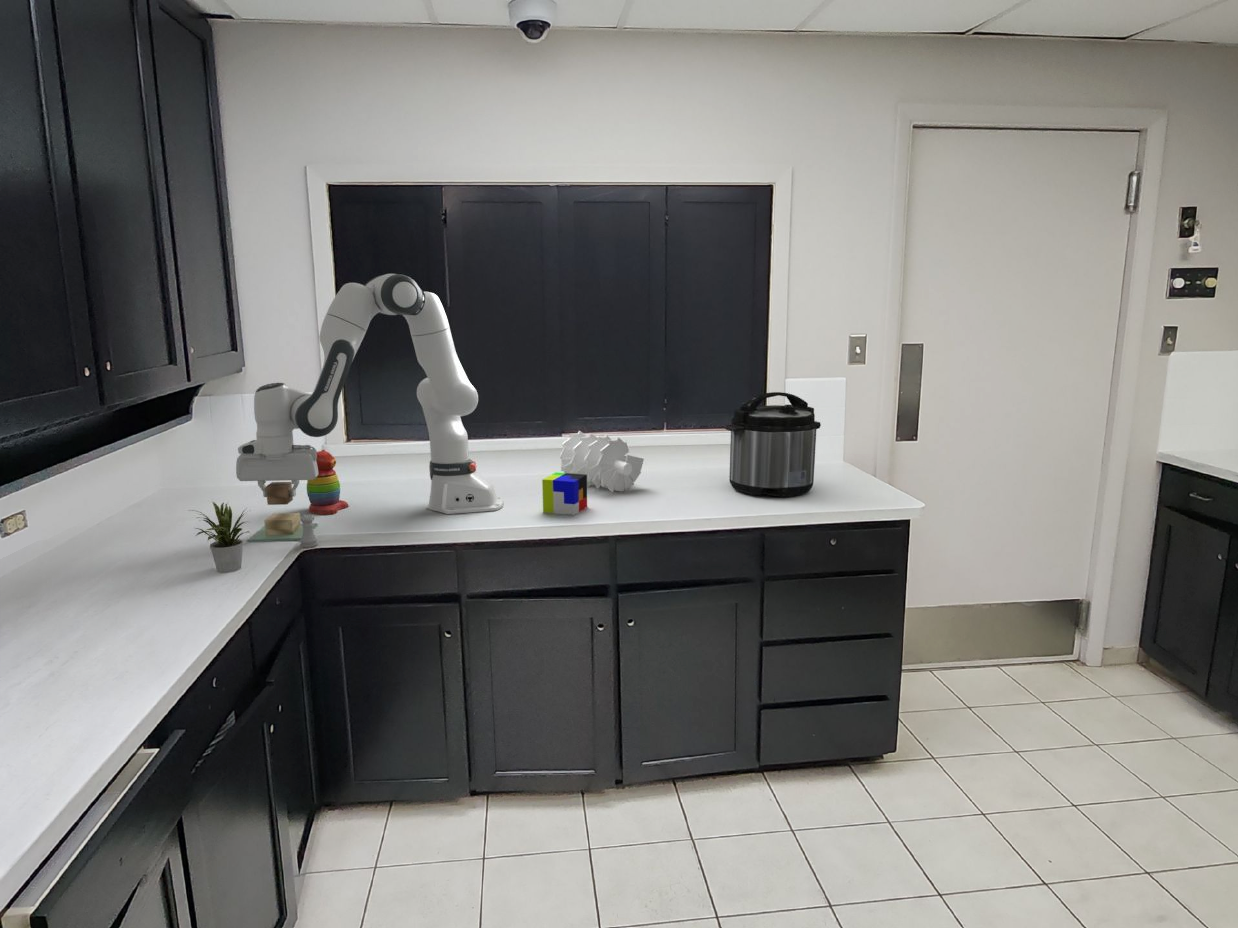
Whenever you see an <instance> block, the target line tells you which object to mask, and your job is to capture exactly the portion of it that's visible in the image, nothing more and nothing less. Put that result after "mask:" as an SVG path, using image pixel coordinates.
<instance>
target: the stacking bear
mask: <svg viewBox="0 0 1238 928" xmlns="http://www.w3.org/2000/svg"><path fill="white" fill-rule="evenodd" d="M316 462H317V466H318V476H317V477H316V478H315V479H313V480H306V494H307V497H308V500H309V503H310V505H309V507H308V511H309V512H310V513H311V514H316V515H324V516H325V515H326V516H327V515H334V514H337V513H338V511H340V510H343V509H347V508H348V507H349V503H348V502H347V501H346V500H340V494H341V484H340V483H341V482H340V481H339V478H338V474H337V472H336V470H335V469H334V467H335V466H336V464H337V460H336V458H335V457H334V456H333V455H332V454H331V453H330V452H329V451H326V449H322V450H319V451H317V459H316Z"/></svg>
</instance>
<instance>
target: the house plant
mask: <svg viewBox="0 0 1238 928" xmlns="http://www.w3.org/2000/svg"><path fill="white" fill-rule="evenodd" d="M211 503H212V505H213V507H214V511H215V515H216V518H217V521H218V524H216V523H215V522H213V520H211V519H210V518H209V517H208V516H207V515H206V514H204V513H203V512H201V511H198V510H196V512H198V513H199V514H200V515H201V517H200V516H199V517H197V519H198V518H200V519H202V516H204V517H203V519H202V521H204V522H206V523H207V524H208V525H209V526H210V528H207V529H206V530H203V529H202V528H198V527H195V529H197V530H200V531H199V532H197V533H196V535H195V537H197V536H198V535H200V534H203V533H204V534H203V535H206V536H208V537H207V542H208V541H210V540H211V539H214V540H215V541H214V542H212V543H210V544H209V548H210V549H209V550H210V551H211V555H212V558H213V561H214V565H215V569H216V570H217V572H218V573H231V572H236V571H238V570H241V569H242V564H243V563H242V562H243V549H244V540H242V539H239V538H240V537H241V536H242V535H243V534H247V533H249V534H251V532H250V531H244V532H241V531H242V530H243V528H242V527H240V526H242V525H243V524H245V523H246V521H241V519H242V518H243V516H244V515H245V514H246V510H247V508H245V509H244V510H243V511H242V513H241V515H240V516H239V517H238V518H237V520H236V522H235V523H234V525H233V527H232V524H233V522H232V520H233V510H232V508H231V506H230V505H228V504H229V501H227V503H225V502H222V503H221V504H220V507H219V505H218V504H217V503H216V502H215V501H211ZM224 505H225V507H224ZM187 511H189V512H190V511H191V512H195V510H193V509H189V510H187ZM251 511H252V510H251V509H250V510H249V512H251ZM200 519H199V520H198V522H199V521H201V520H200ZM240 521H241V522H240ZM248 523H251V522H250V521H248ZM211 531H214V532H215V533H216V534H217V535H216V534H215V533H214V532H211ZM240 532H241V533H240Z"/></svg>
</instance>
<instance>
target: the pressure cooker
mask: <svg viewBox="0 0 1238 928" xmlns="http://www.w3.org/2000/svg"><path fill="white" fill-rule="evenodd" d="M777 396H781V397H786V399H787V401H788V402H789V403H790V404H784V405H781V404H780V405H778V404H777V405H775V404H774V405H760V404H761V403H762V402H763V401H764V400H765V399H769V398H773V397H777ZM808 405H809V404H808V402H807V401H805V399H803V398H801V397H799V396H797V395H795V394H792V393H789V392H783V391H782V392H779V391H773V392H772V391H771V392H765V393H761V394H758V395H755V396H754V397H751V398H749V399H747V400H746V401H744V402H743V403H741V404H740V407H739V409H738V408H737V409H734V411H733V418H732V419H731V424H727V425H725V426H724V429H725V430H726V431H728V432H729V431H730V447H729V448H730V449H729V450H730V451H729V452H730V453H729V476H728V477H729V479H728V480H729V483H730V485H731V487H732V489H734V490H736V491H740V492H742V493H745V494H750V495H755V496H761V495H767V496H771V497H796V496H801V495H805V494H807V493H809V492H810V491H811V489H812V488H813V486H814V479H815V463H816V447H817V446H816V442H817V430H818V429H821V426H822V425H821V422H820V421H817V420H815V417H816V416H815V408H814V407H811V406H808Z"/></svg>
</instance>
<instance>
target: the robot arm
mask: <svg viewBox="0 0 1238 928" xmlns="http://www.w3.org/2000/svg"><path fill="white" fill-rule="evenodd" d="M377 314H380V315H381V314H382V315H387V316H397V315H400V316H402V317H404V319H405V320H406V322H407V324H408V328H409V332H410V336H411V339H412V343H413V347H414V351H415V356H416V359H417V362H418V364H419V365H420V367H421V368H422V370H424V372H425V373H424V374H425V375H426V377H425V378H424V379H422V380H421V381H420V382H419V384H418V385H417V387H416V397H417V401H418V402H419V403H420V405H421V408H422V412H423V415H424V418H425V422H426V427H427V432H428V435H429V437H428V438H429V449H430V451H429V452H430V461H429V477H430V480H431V481H430V483H431V484H430V494H429V499H428V500H429V501H428V505H427V508H428V510H431V511H434V512H438V513H443V514H445V515H453V514H467V513H469V514H470V513H478V512H482V513H483V512H492V511H493V512H494V511H498V510H500V509H502V508H503V506H504V499H503V498H502V497H501V496H497V492H496V489H495V486H494V484H493V483H492V482H491V480H489V479H487V478H486V477H484V476H483V475H482V474H480V473H478V472H477V463H476V461H475V460H472V459H470V458H469V440H468V439H469V437H468V436H469V435H468V432H467V430H466V428H465V427H464V424H463V422H462V418H461V417H464V416H468V415H470V414H472V413H474V411H475V409H477V406H478V403H479V394H478V392H477V391H478V390H477V389H476V388H475V387H474V385H472V383H471V382H470V380H469V377H468V375H467V374H466V371H465V370H464V368H463V366H462V363H461V362H460V359H459V357H458V354H457V352H456V347H455V343H454V340H453V336H452V332H451V327H450V324H449V320H448V317H447V314H446V312H445V308H444V306H443V304H442V302H441V300H440V298H439V296H438V295H437V294H435V293H434V292H431V291H430V292H429V291H423V290H422V289H421V288H420V286H419V285H418V283H417V282H416V281H415V280H414V279H412V277H410V276H408V275H405V274H400V273H386V274H383V275H377V276H374V277H373V278H371V279H369V280H368V281H366V282H365V283H364V284H361V283H358V282H348V283H344V284H343V285H342V287H340V289H339V291H338V292H336V295H335V296H334V298H333V300H332V301H331V303H330V305H329V307H328V309H327V312H326V314H325V316H324V319H323V320H322V323H321V327H320V331H319V336H318V338H319V343H320V345H321V347H322V350H323V353H324V354H323V356H324V357H323V358H324V359H323V365H322V368H321V371H320V374H319V376H318V378H317V379H318V380H317V381H316V384H315V387H314V389H313V392H312V393H308V392H303V391H300V390H297V389H296V388H293V387H290V386H288V385H287V384H286V383H284V382H273V383H267V384H265V385H262V386H259V387H258V388H257V389H256V390H255V391H254V397H253V411H254V412H253V415H254V420H255V423H256V433H255V434H256V435H255V436H256V439H253V440H250V441H248V442H245V443H243V444H241V445H239V446H238V447H237V451H238V454H239V455H238V457H237V458H236V462H235V463H236V464H235V469H236V470H235V473H236V474H235V475H236V479H237V480H238V481H240V482H257V486H258V487H259V488H260V489H261V491H262V493H263V498H267V492H266V486H267V485H266V483H267V482H268V481H269V482H270V481H271V482H281V481H290V482H291V483H292V485H293V486H292V489H289V490H288V493H289V494H288V496H289V497H293V498H294V497H296V496H297V490H296V489H297V488H298V486H299V484H300V481H307V480H313V479H315V478H316V477H317V476H318V466H317V462H316V459H317V452H318V451H317V449H316V448H315V447H314V446H312V445H311V444H305V445H304V444H303V445H302V444H295V443H294V435H293V433H294V430H298V429H299V430H300V431H301V432H302V433H303V434H304V435H307V436H309V437H311V438H312V437H313V438H321V437H324V436H327V435H328V434H330V433H332V431H333V430H334V429H335V428H336V426H337V423H338V419H339V418H338V417H339V412H338V411H339V410H338V409H339V408H338V407H339V406H338V405H339V401H340V396H341V394H342V391H343V388H344V385H345V383H346V380H347V378H348V374H349V372H350V369H351V367H352V363H353V361H354V359H355V356H356V354H357V353H358V350H359V348H360V346H361V345H362V344H361V343H362V342H363V340H364V337H365V335H366V333H367V331H368V328H369V325H370V323H371V321H372V319H373V318H374V316H376V315H377Z"/></svg>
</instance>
